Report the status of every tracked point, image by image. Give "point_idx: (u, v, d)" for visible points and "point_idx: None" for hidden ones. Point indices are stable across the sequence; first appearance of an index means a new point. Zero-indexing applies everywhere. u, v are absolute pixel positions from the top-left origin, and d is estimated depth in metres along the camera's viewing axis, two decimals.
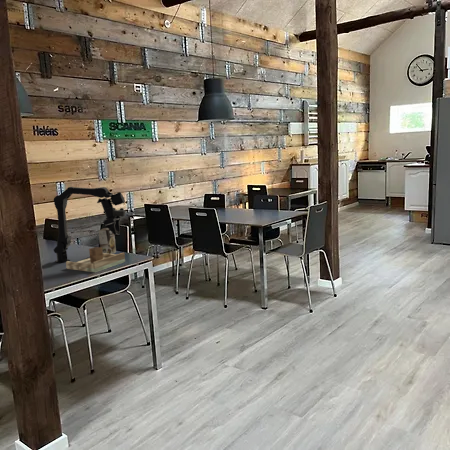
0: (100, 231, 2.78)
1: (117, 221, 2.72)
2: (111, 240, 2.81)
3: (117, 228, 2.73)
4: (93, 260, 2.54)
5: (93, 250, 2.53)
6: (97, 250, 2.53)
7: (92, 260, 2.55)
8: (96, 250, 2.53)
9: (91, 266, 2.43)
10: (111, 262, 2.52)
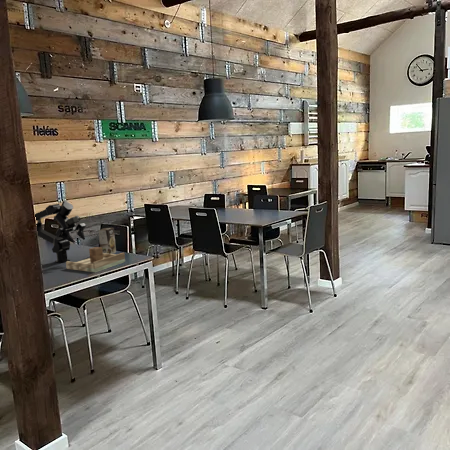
0: (100, 231, 2.78)
1: (80, 230, 2.66)
2: (111, 240, 2.81)
3: (82, 237, 2.65)
4: (93, 260, 2.54)
5: (93, 250, 2.53)
6: (97, 250, 2.53)
7: (92, 260, 2.55)
8: (96, 250, 2.53)
9: (91, 266, 2.43)
10: (111, 262, 2.52)
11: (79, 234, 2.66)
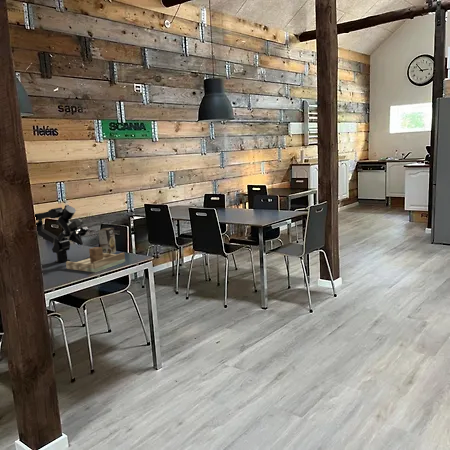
0: (100, 231, 2.78)
1: (77, 235, 2.62)
2: (111, 240, 2.81)
3: None
4: (93, 260, 2.54)
5: (93, 250, 2.53)
6: (97, 250, 2.53)
7: (92, 260, 2.55)
8: (96, 250, 2.53)
9: (91, 266, 2.43)
10: (111, 262, 2.52)
11: None
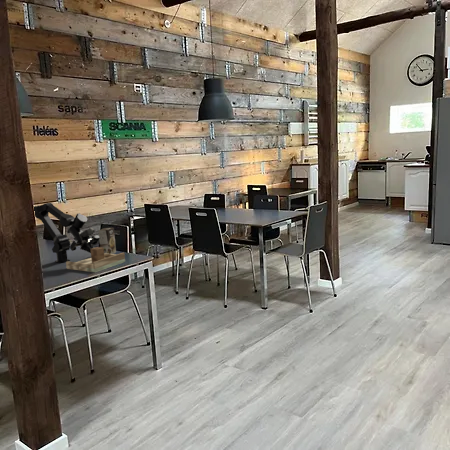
0: (100, 231, 2.78)
1: (89, 244, 2.58)
2: (111, 240, 2.81)
3: None
4: (94, 260, 2.54)
5: (94, 250, 2.52)
6: (98, 250, 2.53)
7: (93, 260, 2.54)
8: (97, 250, 2.52)
9: (91, 266, 2.43)
10: (111, 262, 2.52)
11: None
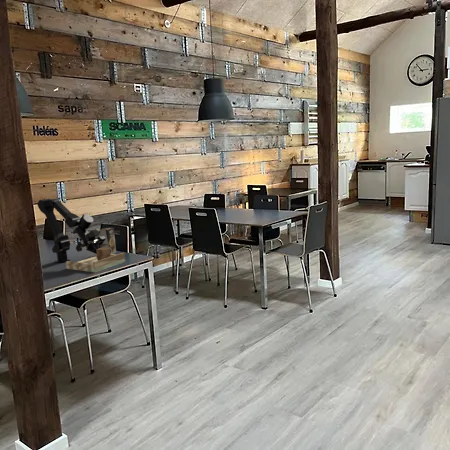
0: (100, 231, 2.78)
1: (95, 245, 2.56)
2: (111, 240, 2.81)
3: None
4: None
5: (100, 251, 2.50)
6: (104, 251, 2.50)
7: None
8: (103, 251, 2.50)
9: (91, 266, 2.43)
10: (111, 262, 2.52)
11: None
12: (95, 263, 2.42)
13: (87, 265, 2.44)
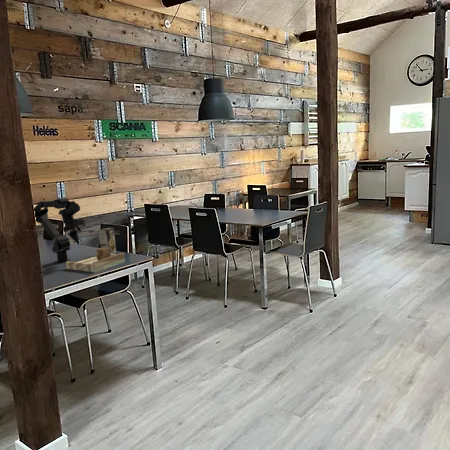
0: (100, 231, 2.78)
1: None
2: (111, 240, 2.81)
3: None
4: None
5: (100, 251, 2.50)
6: (104, 251, 2.50)
7: None
8: (103, 251, 2.50)
9: (91, 266, 2.43)
10: (111, 262, 2.52)
11: None
12: (95, 263, 2.42)
13: (87, 265, 2.44)
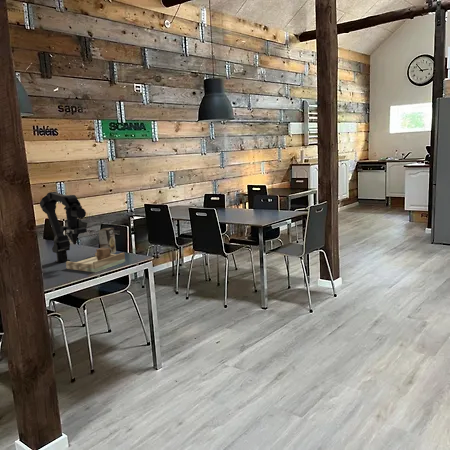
0: (100, 231, 2.78)
1: (74, 233, 2.59)
2: (111, 240, 2.81)
3: None
4: None
5: (100, 251, 2.50)
6: (104, 251, 2.50)
7: None
8: (103, 251, 2.50)
9: (91, 266, 2.43)
10: (111, 262, 2.52)
11: None
12: (95, 263, 2.42)
13: (87, 265, 2.44)
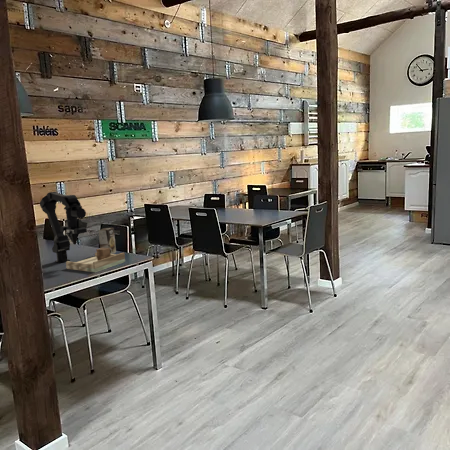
0: (100, 231, 2.78)
1: (74, 233, 2.59)
2: (111, 240, 2.81)
3: None
4: None
5: (100, 251, 2.50)
6: (104, 251, 2.50)
7: None
8: (103, 251, 2.50)
9: (91, 266, 2.43)
10: (111, 262, 2.52)
11: None
12: (95, 263, 2.42)
13: (87, 265, 2.44)
